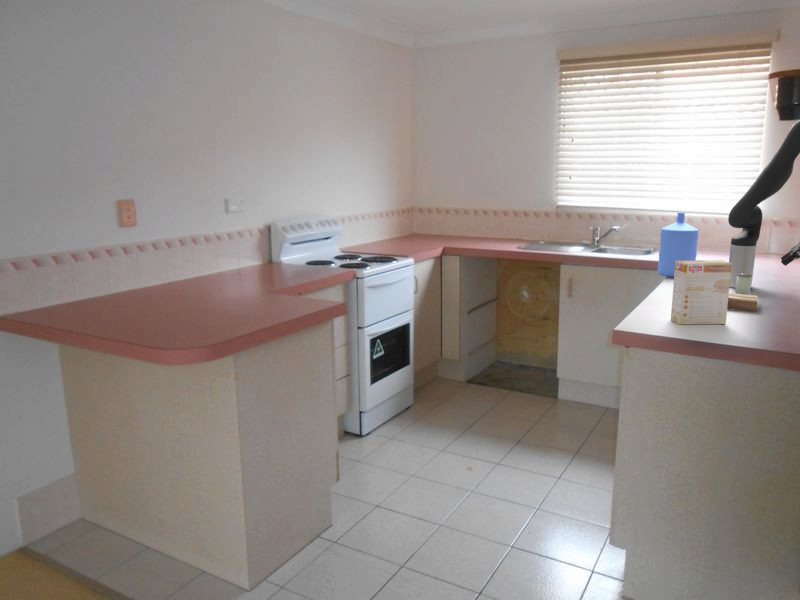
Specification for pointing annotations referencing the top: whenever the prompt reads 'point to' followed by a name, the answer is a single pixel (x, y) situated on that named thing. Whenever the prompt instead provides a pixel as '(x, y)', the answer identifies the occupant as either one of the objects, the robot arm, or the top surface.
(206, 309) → the top surface
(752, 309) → the walnut plinth
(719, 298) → the coffeecake box
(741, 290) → the spice jar
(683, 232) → the water jug
